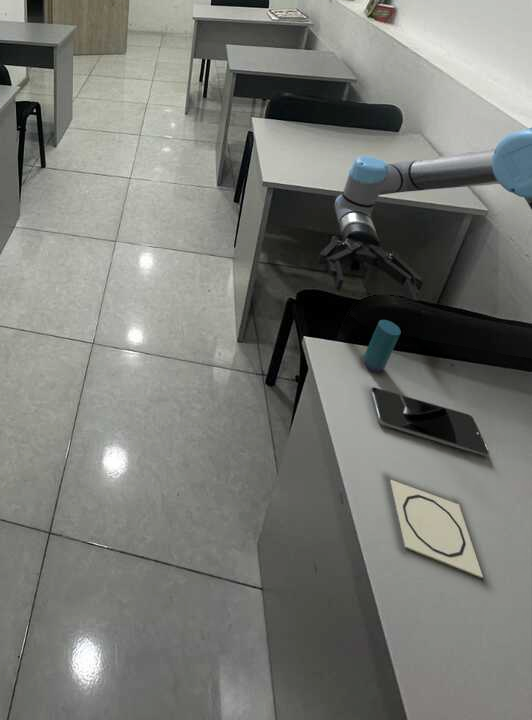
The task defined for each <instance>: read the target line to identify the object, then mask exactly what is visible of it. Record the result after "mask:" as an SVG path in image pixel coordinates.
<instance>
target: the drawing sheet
mask: <svg viewBox="0 0 532 720" xmlns="http://www.w3.org/2000/svg"><path fill="white" fill-rule="evenodd" d="M389 482H390V487H391V491H392V496H393V500H394V505H395V509H396V513H397V518H398V522H399V527H400V532H401V536H402V540H403V546H404V548H405V549H407V550H410V551H412V552H415V553H418V554H420V555H423V556H425V557H428V558H430V559H433V560H435V561H438V562H441V563H443V564H446V565H447V566H451V567H453V568H456V569H457V570H460V571H463V572H466V573H468V574H470V575H473V576H475V577H479V578H480V579H483V578H484V576H483V573H482V570H481V567H480V564H479V561H478V558H477V554H476V552H475V549H474V545H473V543H472V540H471V536H470V533H469V531H468V527H467V525H466V524H467V523H466V522H465V519H464V516H463V513H462V509H461V507H460V504H459V503H456V502H453V501H451V500H448V499H446V498H442V497H440V496H437V495H434V494H431V493H429V492H426V491H423V490H420V489H418V488H415V487H412V486H410V485H406V484H404V483H401V482H398V481H395V480H393V479H390V480H389Z"/></svg>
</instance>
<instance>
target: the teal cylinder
mask: <svg viewBox="0 0 532 720" xmlns="http://www.w3.org/2000/svg"><path fill="white" fill-rule="evenodd" d="M401 333H402V331H401V328H400V327H399V326H398V325H397V324H396V323H394V322H392V321H390V320H387V319H380V320H379V321H378V323H377V325H376V328H375V330H374V332H373V334H372V337H371V339H370V341H369V344H368V346H367V348H366V351H365V353H364V355H363V358H364V365H365V366H366V368H367V369H368V370H370V371H372V372H375V373H377V372H380V371H382V370H383V369H385V367H386V365H387V364H388V361H389V359H390V357H391V355H392V353H393V350H394V349H395V346H396V344H397V342H398V340H399V338H400V336H401Z"/></svg>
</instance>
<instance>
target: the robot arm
mask: <svg viewBox="0 0 532 720" xmlns="http://www.w3.org/2000/svg"><path fill="white" fill-rule="evenodd" d="M346 179H347V180H346V183H345V184H344V185H345V186H344V187H343V188H344V189H343V191H342V193H341V194H340V195H338V196H337V197H336V198H335V201H334V214H335V216H336V218H337V223H338V227H339V232H340V236H341V240H339V237H338V236H336V235H332V236H331V239H330V242H329V243H328V244H327V245H326V246H325V248H324V249H322V251H321V252H320V253H319V256H318V259H317V263H318V264H319V265H325V270H326V271H327V272H328V275H329V276H331V277H333V281H334V287H335V290H336V291H338V292H340V291H341V289H342V286H343V284H344V281H345V280H344V276H343V271H342V266H341V265H342V264H344V263H346V262H351V261H353V260H356V262H361V263H365V264H367V265H370V266H371V265H372V266H373V267H374V268H376V269H377V270H381V271H382V272H384V273H385V274H387V275H388V276H389V277H391V278H392V279H393V280H394V281H396V282H397V283H398V284H400V285H401V290H402V293H403V296H404V299H405V298H408V299H412V300H415V301H419V299H418V295H419V293H420V292H419V291H421V289H422V287H423V285H424V283H425V279H424V278H422V277H421V276H420V275H419V274H418V273H417V272H416V271H415V269H413V268H412V267H411V266H410V265H409V264H408V263H407V262H406V261H404V260H403V258H401V256H400V255H399V253H398V252H397V251H395V250H391V251H390V252H386V251H384V250H383V248H381V243H380V239H379V236H378V234H377V229H376V227H375V225H374V223H373V220H372V213H373V210H374V208H375V205H376V203H377V201H378V198H379V196H382V195H383V196H384V195H390V194H396V193H397V194H399V193H407V192H419V191H420V192H421V191H430V190H440V189H443V190H444V189H453V188H466V187H478V186H479V187H480V186H491V185H492V186H493V185H500V186H501V187H502V188H503V189H505V191H507V192H509V193H512V194H514V195H516V196H518V197H520V198H524V200H525V201H526V203H527V205H528V206H529V208H530V209H531V210H532V127H529V128H525V129H520V130H517V131H514V132H512V133H509V134H508V135H506V136H505V137H503V139H502V140H500V141H499V143H498V144H497V145H496V147H495V148H488V149H482V150H476V151H469V152H463V153H462V152H461V153H456V154H449V155H442V156H436V157H429V158H423V159H418V160H417V159H415V160H409V161H402V162H393V163H386V162H385V161H384V160H381V159H379V158H377V157H373V156H367V155H360V156H358V157H356V158H355V159H354V162H353V164H352V165H351V167H350V170H349V174H348V177H347V178H346ZM340 248H342V250H341V251H339V252H337V253H335V251H337V250H338V249H340ZM334 253H335V254H334Z"/></svg>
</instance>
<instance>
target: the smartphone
mask: <svg viewBox="0 0 532 720" xmlns="http://www.w3.org/2000/svg"><path fill="white" fill-rule="evenodd" d="M370 394H371V398H372V402H373V406H374V410H375V413H376V417H377V421H378V423H379V424H380V425H381V426H384V427H386V428H390V429H392V430H397V431H400V432H403V433H406V434H409V435H413V436H416V437H419V438H423V439H426V440H430V441H433V442H436V443H440V444H443V445H446V446H448V447H452V448H455V449H459V450H462V451H465V452H469V453H473V454H476V455H479V456H482V457H488V456H490V452H489V449H488V447H487V444H486V442H485V439H484V438H483V436H482V433H481V431H480V429H479V427H478V424H477V422H476V421H475V418H474V417H473V416H472V415H471V414H468V413H465V412H461V411H458V410H454V409H451V408H447V407H444V406H441V405H437V404H433V403H430V402H425V401H423V400H420V399H416V398H412V397H409V396H405V395H402V394H399V393H395V392H393V391H388V390H384V389H382V388H377V387H373V386H372V387H371V388H370Z"/></svg>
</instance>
